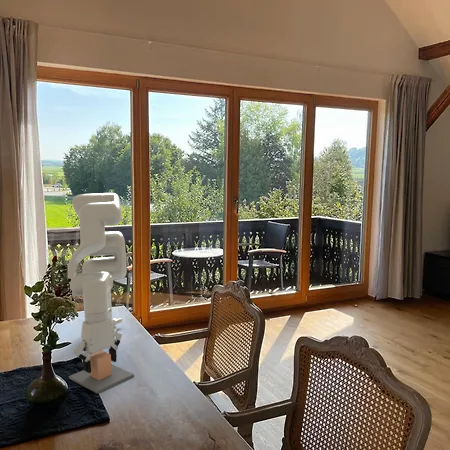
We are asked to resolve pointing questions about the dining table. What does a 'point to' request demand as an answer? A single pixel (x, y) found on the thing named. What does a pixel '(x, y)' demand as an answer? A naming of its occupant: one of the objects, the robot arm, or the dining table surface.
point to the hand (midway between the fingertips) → (100, 366)
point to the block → (100, 365)
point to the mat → (103, 384)
